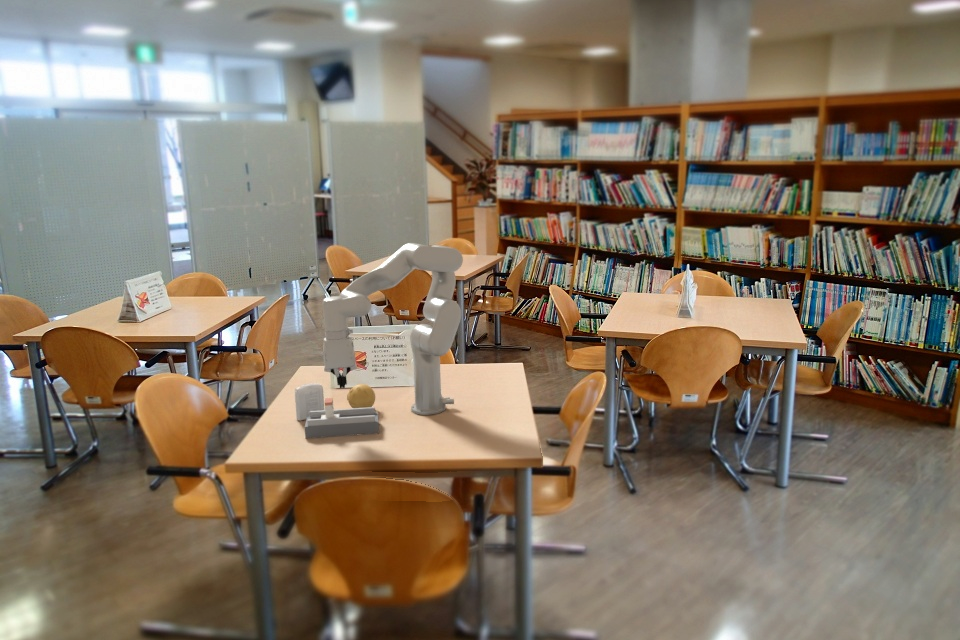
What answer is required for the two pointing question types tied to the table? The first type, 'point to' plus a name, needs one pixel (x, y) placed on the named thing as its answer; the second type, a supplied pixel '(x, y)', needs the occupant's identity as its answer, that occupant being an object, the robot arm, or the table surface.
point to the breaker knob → (329, 409)
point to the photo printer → (308, 399)
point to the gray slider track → (342, 423)
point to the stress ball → (361, 396)
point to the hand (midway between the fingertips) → (342, 386)
